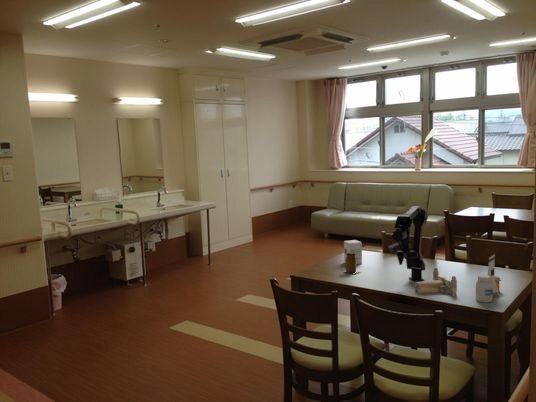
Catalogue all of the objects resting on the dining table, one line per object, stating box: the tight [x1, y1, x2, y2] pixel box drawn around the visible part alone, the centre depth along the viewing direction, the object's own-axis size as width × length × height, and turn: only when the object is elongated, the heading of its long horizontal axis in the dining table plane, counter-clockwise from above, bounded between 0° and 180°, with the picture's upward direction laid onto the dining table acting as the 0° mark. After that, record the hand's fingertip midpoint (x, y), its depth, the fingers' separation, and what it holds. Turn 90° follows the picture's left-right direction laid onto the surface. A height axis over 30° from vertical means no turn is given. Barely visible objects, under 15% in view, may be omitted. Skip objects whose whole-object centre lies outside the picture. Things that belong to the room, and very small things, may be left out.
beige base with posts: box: [432, 267, 458, 297], centre depth 247 cm, size 20×5×10 cm, turn 9°
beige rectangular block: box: [414, 280, 444, 294], centre depth 246 cm, size 4×14×5 cm, turn 99°
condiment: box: [345, 252, 357, 275], centre depth 287 cm, size 7×8×12 cm
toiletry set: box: [475, 253, 502, 303], centre depth 234 cm, size 25×8×21 cm, turn 139°
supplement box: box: [343, 239, 363, 265], centre depth 309 cm, size 9×9×15 cm
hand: (404, 266), depth 251 cm, fingers open, 9 cm apart
